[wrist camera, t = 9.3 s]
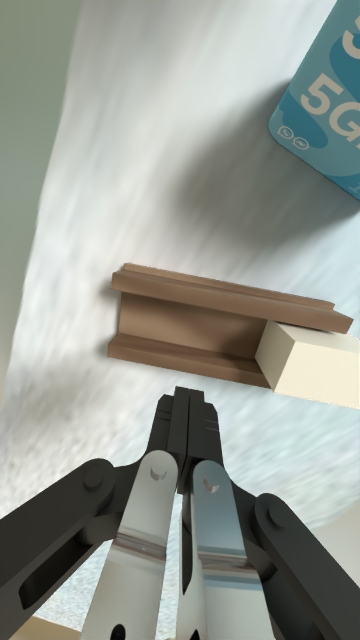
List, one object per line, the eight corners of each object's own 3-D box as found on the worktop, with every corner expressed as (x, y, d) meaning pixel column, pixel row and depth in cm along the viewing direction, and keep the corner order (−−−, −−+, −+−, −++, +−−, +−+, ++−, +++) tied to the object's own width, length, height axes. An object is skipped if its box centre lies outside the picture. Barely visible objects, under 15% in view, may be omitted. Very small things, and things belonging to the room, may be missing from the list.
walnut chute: (127, 262, 22) (113, 266, 18) (328, 301, 22) (357, 313, 18) (120, 344, 25) (107, 361, 21) (294, 378, 25) (311, 401, 21)
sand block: (268, 316, 21) (295, 341, 16) (343, 330, 21) (397, 361, 16) (254, 357, 23) (273, 392, 17) (323, 370, 23) (365, 410, 17)
